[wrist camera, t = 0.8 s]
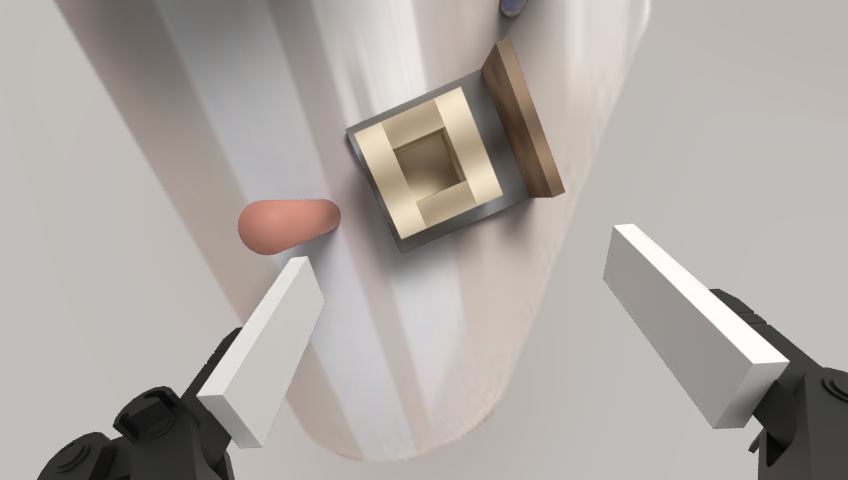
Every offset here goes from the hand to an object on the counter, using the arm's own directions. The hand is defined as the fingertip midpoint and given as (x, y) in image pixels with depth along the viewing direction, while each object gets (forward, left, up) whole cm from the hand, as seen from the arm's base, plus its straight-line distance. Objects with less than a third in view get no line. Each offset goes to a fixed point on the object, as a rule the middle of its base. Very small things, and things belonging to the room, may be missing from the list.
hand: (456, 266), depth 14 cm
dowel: (-5, -10, -21) cm, 24 cm away
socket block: (-5, +2, -20) cm, 21 cm away
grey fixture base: (-5, +4, -21) cm, 22 cm away
